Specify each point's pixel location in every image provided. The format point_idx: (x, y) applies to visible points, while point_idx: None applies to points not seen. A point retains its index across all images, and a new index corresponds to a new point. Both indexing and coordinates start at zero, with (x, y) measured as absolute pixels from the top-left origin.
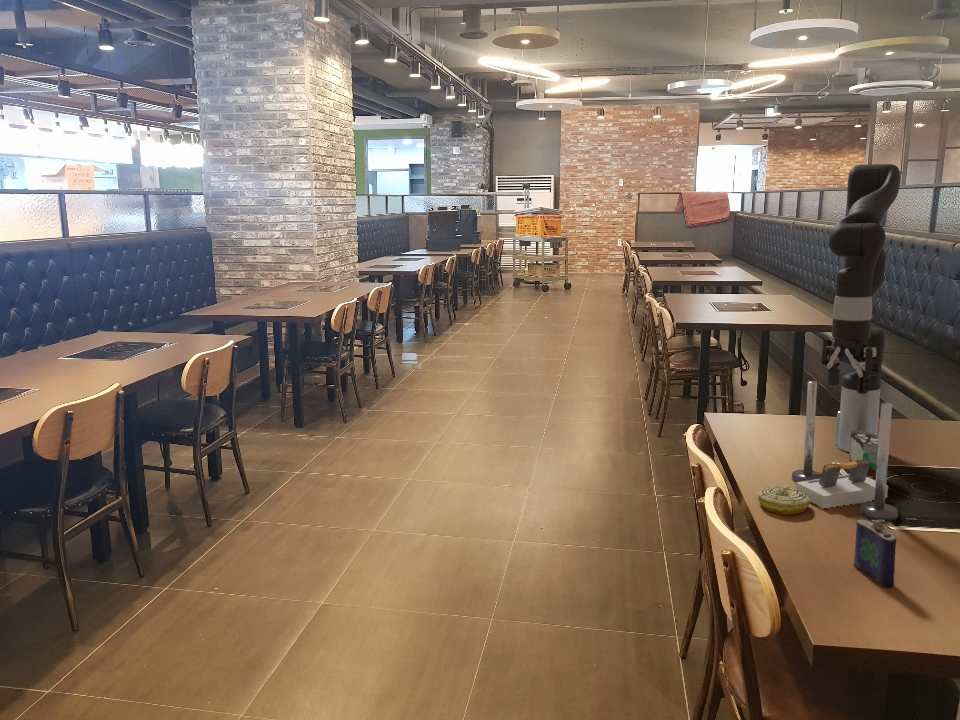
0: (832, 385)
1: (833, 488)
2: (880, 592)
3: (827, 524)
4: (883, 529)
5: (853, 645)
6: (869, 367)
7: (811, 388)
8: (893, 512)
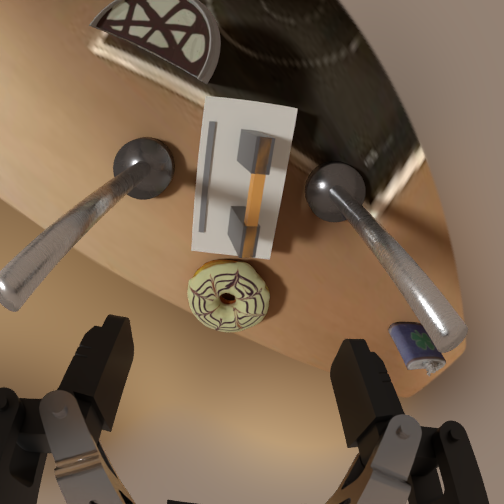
0: (133, 347)
1: None
2: None
3: (310, 283)
4: (435, 366)
5: (424, 386)
6: (433, 491)
7: (31, 293)
8: (361, 189)
